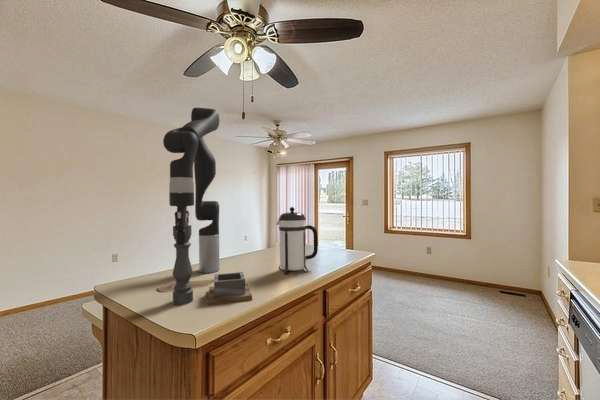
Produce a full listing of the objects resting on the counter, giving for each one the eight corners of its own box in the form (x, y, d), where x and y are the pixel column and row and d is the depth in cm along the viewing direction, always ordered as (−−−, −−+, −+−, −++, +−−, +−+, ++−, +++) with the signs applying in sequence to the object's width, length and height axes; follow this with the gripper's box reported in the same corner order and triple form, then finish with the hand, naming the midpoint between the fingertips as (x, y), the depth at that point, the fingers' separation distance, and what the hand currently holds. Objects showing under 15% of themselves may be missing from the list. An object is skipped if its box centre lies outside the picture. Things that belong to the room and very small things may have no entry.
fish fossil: (221, 277, 121) (221, 275, 121) (229, 285, 112) (230, 282, 112) (155, 287, 106) (155, 284, 106) (159, 297, 98) (159, 294, 98)
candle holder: (168, 302, 90) (167, 226, 90) (184, 296, 95) (183, 224, 95) (181, 306, 87) (180, 227, 87) (197, 299, 92) (196, 225, 93)
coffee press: (300, 277, 118) (299, 207, 119) (270, 272, 126) (269, 207, 127) (318, 268, 133) (317, 206, 134) (290, 264, 142) (289, 206, 142)
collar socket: (209, 291, 101) (209, 273, 101) (247, 287, 105) (247, 270, 105) (207, 304, 88) (207, 284, 88) (252, 299, 92) (251, 280, 92)
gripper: (173, 192, 97) (173, 240, 97) (165, 190, 83) (165, 246, 83) (195, 192, 99) (196, 239, 99) (191, 190, 85) (192, 245, 85)
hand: (182, 242), depth 91 cm, fingers closed on candle holder, 5 cm apart
